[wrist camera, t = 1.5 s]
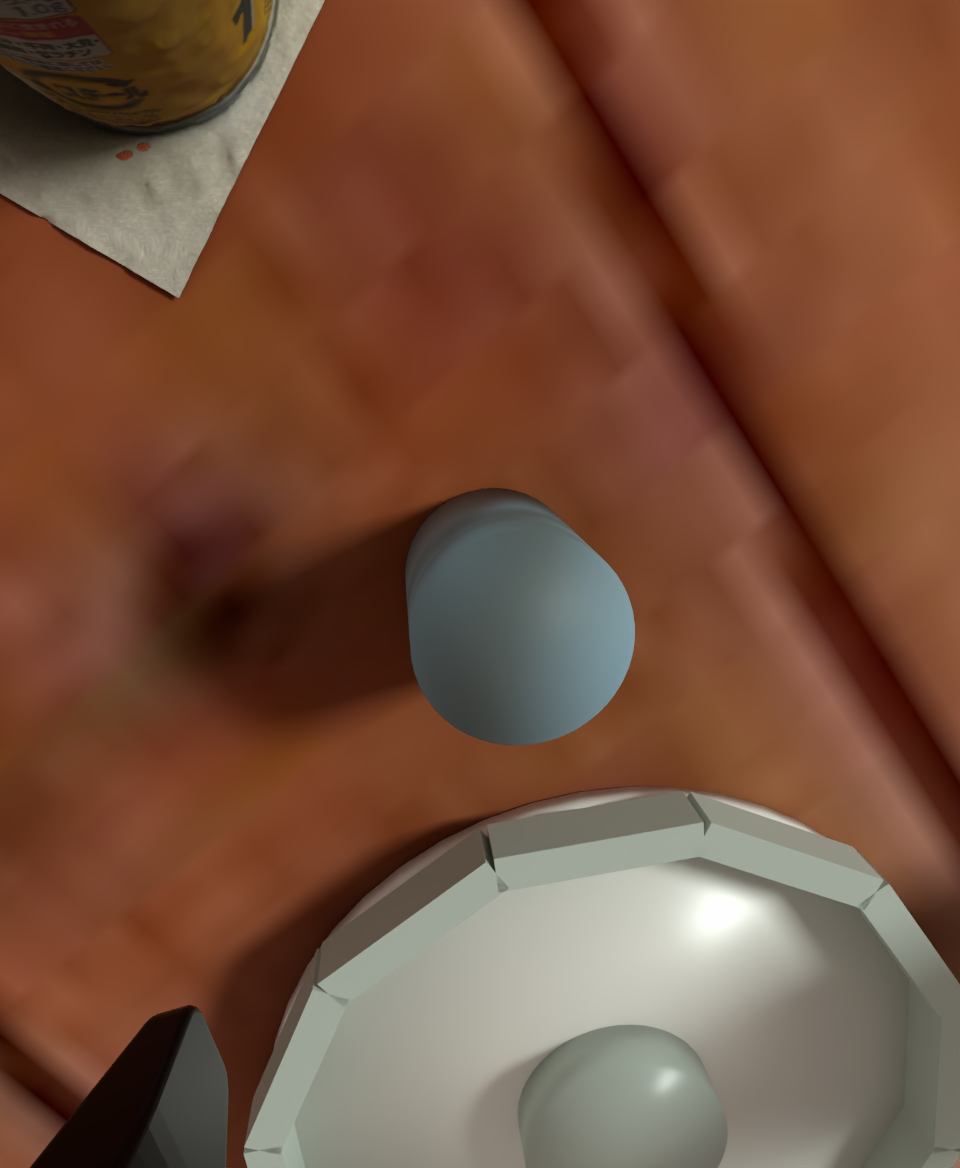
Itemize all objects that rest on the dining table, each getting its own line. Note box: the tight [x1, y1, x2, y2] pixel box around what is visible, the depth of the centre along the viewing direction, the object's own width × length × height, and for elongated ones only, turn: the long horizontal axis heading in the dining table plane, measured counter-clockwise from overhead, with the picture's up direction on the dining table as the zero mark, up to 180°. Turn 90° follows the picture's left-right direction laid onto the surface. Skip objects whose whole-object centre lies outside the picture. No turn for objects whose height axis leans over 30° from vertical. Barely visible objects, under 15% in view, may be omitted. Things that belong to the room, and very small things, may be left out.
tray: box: [244, 787, 960, 1168], centre depth 24 cm, size 21×21×2 cm
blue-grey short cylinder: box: [405, 488, 635, 745], centre depth 18 cm, size 4×4×5 cm
